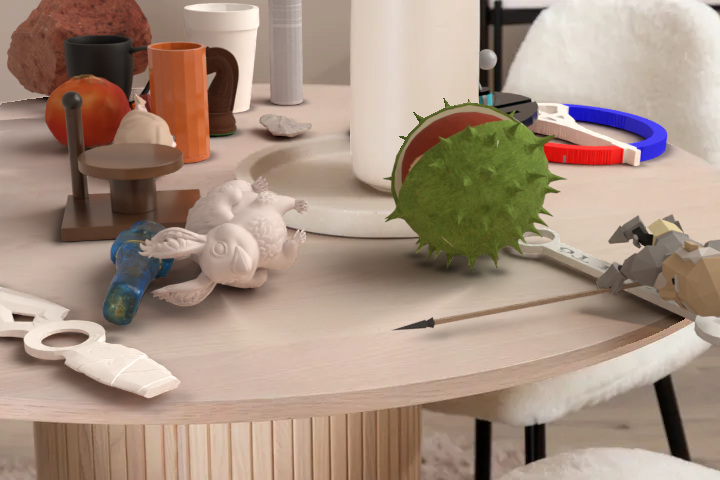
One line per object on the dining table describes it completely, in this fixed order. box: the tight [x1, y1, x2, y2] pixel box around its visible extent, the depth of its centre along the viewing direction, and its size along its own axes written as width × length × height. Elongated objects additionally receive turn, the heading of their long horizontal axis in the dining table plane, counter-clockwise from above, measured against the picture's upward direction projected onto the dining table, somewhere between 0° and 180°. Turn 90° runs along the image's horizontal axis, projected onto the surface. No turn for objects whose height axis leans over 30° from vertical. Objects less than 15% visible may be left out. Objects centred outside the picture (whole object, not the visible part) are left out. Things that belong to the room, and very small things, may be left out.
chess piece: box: [205, 46, 239, 136], centre depth 126 cm, size 5×5×10 cm
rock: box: [6, 0, 153, 97], centre depth 145 cm, size 20×15×15 cm
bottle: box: [267, 0, 304, 106], centre depth 141 cm, size 4×4×20 cm
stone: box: [258, 113, 313, 138], centre depth 127 cm, size 6×8×2 cm
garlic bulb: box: [112, 93, 176, 148], centre depth 108 cm, size 7×6×8 cm
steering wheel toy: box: [527, 102, 668, 167], centre depth 127 cm, size 22×25×2 cm
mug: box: [64, 35, 150, 111], centre depth 133 cm, size 8×12×10 cm
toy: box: [390, 213, 720, 331], centre depth 78 cm, size 29×5×15 cm
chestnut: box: [382, 98, 568, 274], centre depth 84 cm, size 15×14×15 cm
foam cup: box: [183, 2, 260, 114], centre depth 138 cm, size 10×9×13 cm
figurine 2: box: [138, 175, 309, 307], centre depth 79 cm, size 8×15×13 cm
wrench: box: [511, 226, 720, 347], centre depth 82 cm, size 25×1×5 cm
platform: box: [479, 81, 539, 127], centre depth 127 cm, size 22×22×6 cm
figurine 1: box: [101, 220, 176, 327], centre depth 79 cm, size 5×4×15 cm
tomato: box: [44, 74, 130, 149], centre depth 118 cm, size 9×9×8 cm
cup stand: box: [60, 91, 202, 243], centre depth 94 cm, size 10×12×11 cm
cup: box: [147, 41, 211, 164], centre depth 115 cm, size 6×6×12 cm
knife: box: [0, 286, 182, 399], centre depth 72 cm, size 6×28×1 cm, turn 47°
